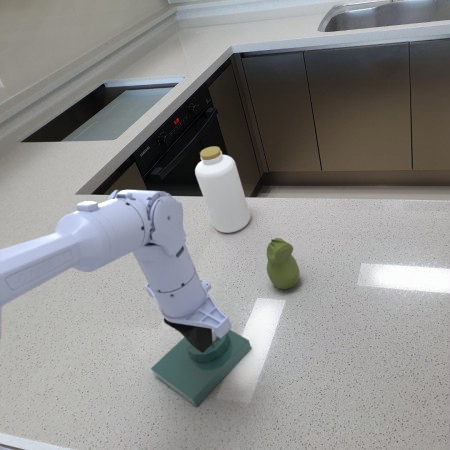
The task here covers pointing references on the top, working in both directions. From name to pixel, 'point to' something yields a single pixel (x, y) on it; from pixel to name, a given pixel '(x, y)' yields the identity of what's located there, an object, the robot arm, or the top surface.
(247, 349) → the green socket base
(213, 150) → the white bottle
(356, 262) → the top surface
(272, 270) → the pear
